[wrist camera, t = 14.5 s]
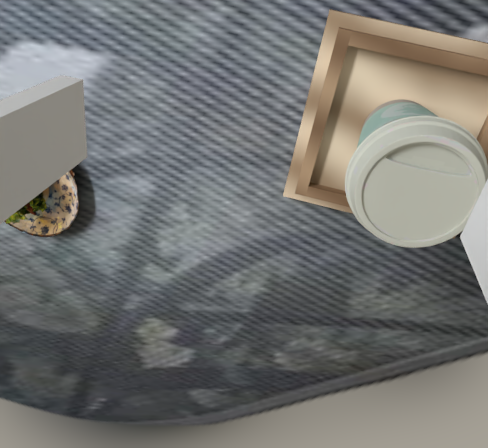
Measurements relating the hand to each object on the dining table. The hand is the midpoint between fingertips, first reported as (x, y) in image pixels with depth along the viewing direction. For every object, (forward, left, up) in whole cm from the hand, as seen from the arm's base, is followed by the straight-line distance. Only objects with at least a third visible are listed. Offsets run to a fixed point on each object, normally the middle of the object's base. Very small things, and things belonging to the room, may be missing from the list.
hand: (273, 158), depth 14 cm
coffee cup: (+5, +8, -24) cm, 26 cm away
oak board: (+5, +8, -25) cm, 27 cm away
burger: (+19, -26, -26) cm, 41 cm away
